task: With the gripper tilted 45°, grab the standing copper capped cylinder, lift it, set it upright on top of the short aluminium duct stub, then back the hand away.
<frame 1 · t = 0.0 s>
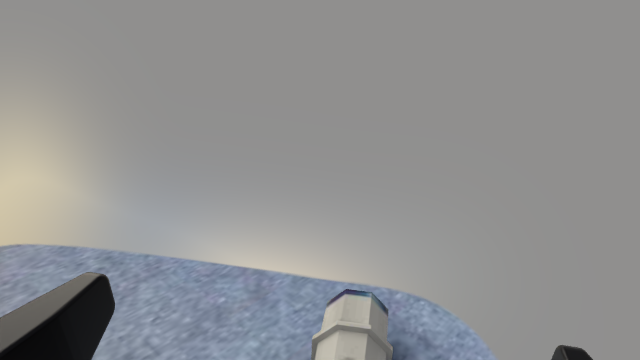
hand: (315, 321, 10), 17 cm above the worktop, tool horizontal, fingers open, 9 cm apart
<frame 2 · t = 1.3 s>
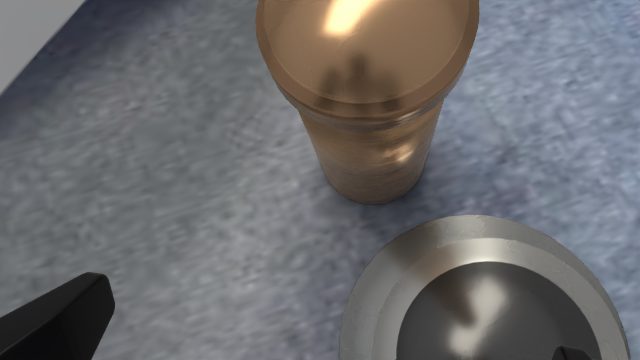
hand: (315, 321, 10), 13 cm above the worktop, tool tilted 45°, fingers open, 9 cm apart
copper capped cylinder: (372, 153, 24), on the worktop
duct stub: (476, 351, 21), on the worktop
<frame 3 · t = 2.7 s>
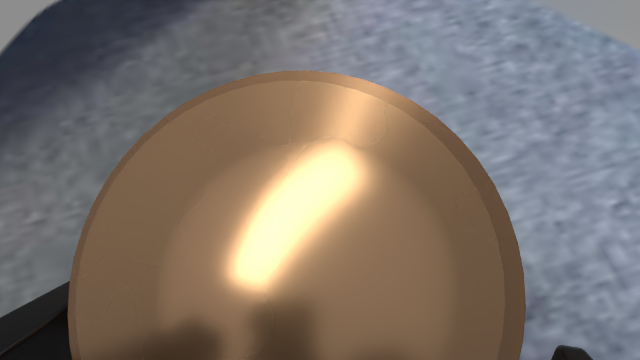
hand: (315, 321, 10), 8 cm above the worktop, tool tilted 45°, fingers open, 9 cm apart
copper capped cylinder: (348, 299, 18), on the worktop
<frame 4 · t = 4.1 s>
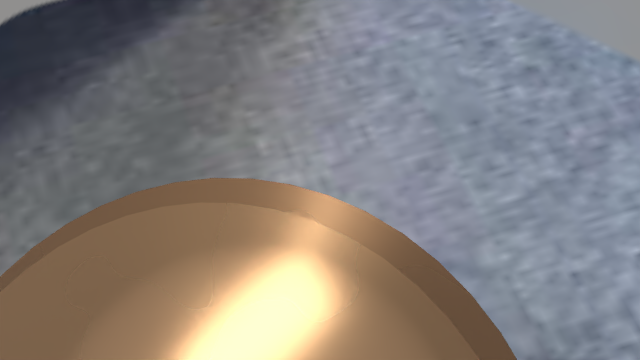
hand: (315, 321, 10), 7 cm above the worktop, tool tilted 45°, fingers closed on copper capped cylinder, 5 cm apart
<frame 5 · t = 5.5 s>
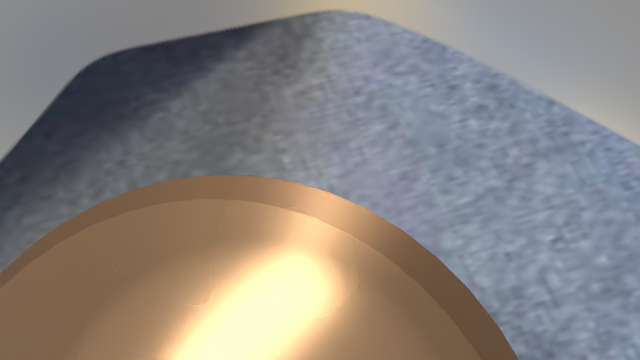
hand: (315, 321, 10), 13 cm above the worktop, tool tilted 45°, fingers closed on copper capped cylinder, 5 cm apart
copper capped cylinder: (335, 359, 16), point 7 cm above the worktop, touching gripper
when the fingers open (12 cm above the worktop, at t = 7.0 s): copper capped cylinder drops 1 cm, resting on duct stub.
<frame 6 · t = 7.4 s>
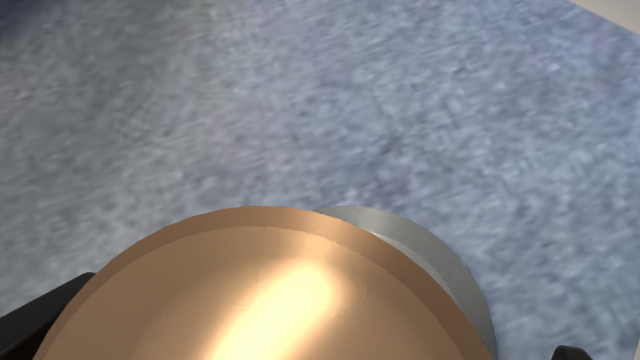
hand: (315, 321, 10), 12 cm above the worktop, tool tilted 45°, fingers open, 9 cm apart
copper capped cylinder: (340, 358, 17), point 4 cm above the worktop, touching duct stub
duct stub: (348, 346, 21), on the worktop
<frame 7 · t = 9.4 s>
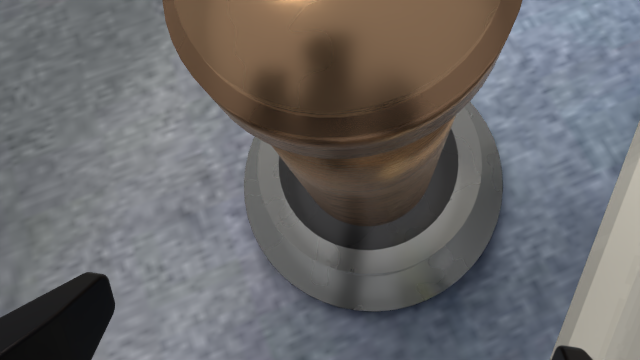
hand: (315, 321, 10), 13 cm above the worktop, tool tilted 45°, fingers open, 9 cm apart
copper capped cylinder: (366, 161, 19), point 4 cm above the worktop, touching duct stub
duct stub: (369, 182, 23), on the worktop
grey piece: (604, 259, 22), on the worktop
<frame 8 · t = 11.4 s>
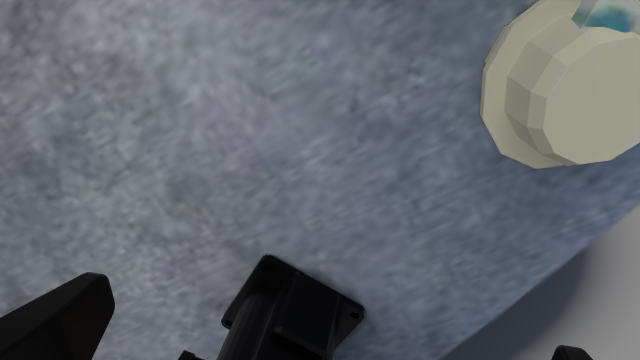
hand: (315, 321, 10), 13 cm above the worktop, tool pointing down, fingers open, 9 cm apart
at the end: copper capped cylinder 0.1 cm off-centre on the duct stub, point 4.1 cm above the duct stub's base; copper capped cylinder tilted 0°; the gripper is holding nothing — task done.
